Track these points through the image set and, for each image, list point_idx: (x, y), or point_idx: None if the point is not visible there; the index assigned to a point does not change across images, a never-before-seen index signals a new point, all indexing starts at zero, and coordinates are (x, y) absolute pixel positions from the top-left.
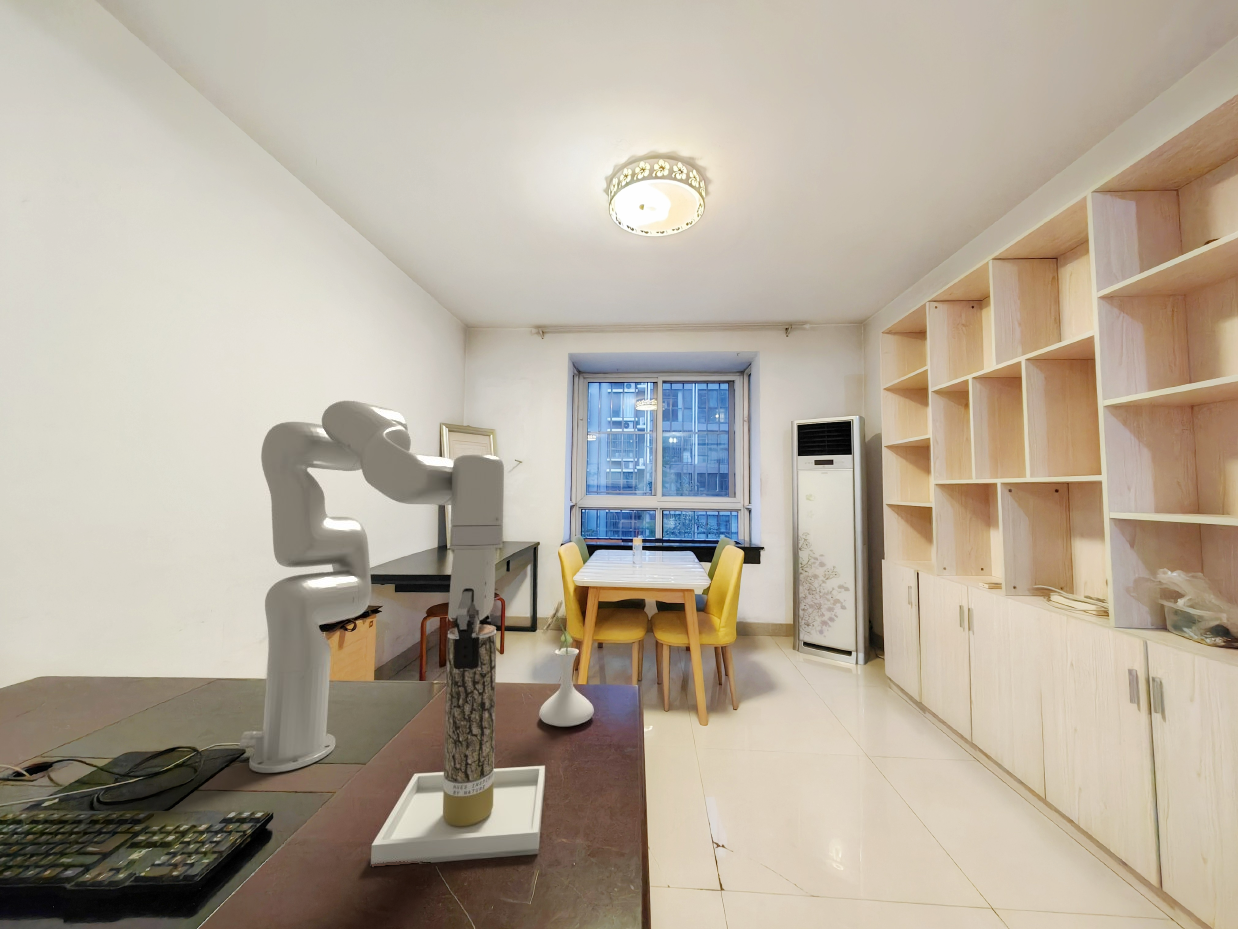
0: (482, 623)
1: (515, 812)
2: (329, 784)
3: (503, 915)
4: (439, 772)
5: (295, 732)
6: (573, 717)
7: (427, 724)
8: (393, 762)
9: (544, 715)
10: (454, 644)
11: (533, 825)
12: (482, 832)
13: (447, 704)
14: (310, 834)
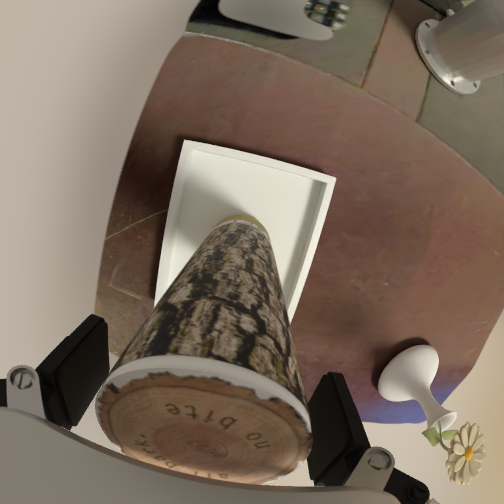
0: (322, 468)
1: None
2: (381, 82)
3: (102, 264)
4: (325, 212)
5: (447, 40)
6: (383, 383)
7: (479, 203)
8: (410, 154)
9: (410, 353)
10: (52, 353)
11: None
12: (166, 260)
13: (201, 256)
14: (277, 71)
